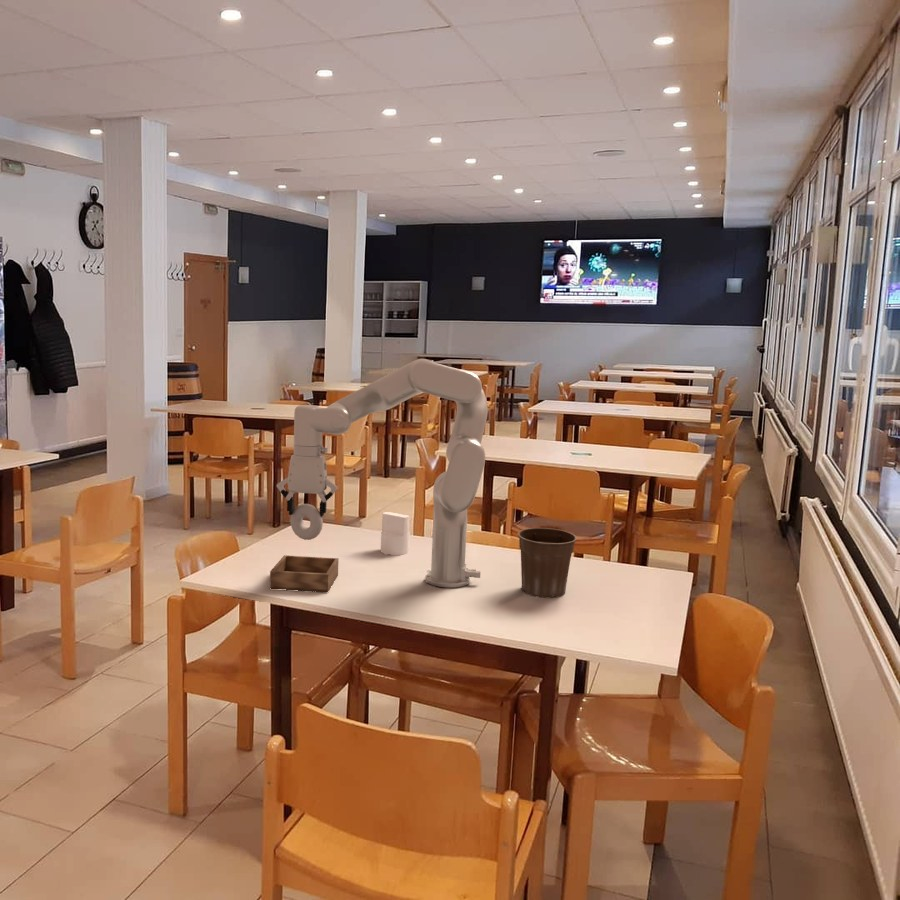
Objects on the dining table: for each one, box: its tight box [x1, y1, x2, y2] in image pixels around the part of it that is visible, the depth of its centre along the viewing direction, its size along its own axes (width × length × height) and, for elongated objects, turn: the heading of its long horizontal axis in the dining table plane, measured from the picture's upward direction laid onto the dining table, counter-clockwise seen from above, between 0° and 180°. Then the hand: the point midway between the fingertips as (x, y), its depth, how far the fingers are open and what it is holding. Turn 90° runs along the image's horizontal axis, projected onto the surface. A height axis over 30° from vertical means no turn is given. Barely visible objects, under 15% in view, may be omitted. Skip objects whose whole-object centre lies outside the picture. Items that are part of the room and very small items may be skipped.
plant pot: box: [517, 527, 578, 598], centre depth 230 cm, size 16×16×16 cm
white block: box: [380, 511, 411, 556], centre depth 263 cm, size 9×9×12 cm
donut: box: [289, 503, 324, 541], centre depth 226 cm, size 10×4×10 cm, turn 64°
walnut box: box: [269, 555, 339, 593], centre depth 229 cm, size 16×16×5 cm
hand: (306, 514), depth 226 cm, fingers closed on donut, 7 cm apart
